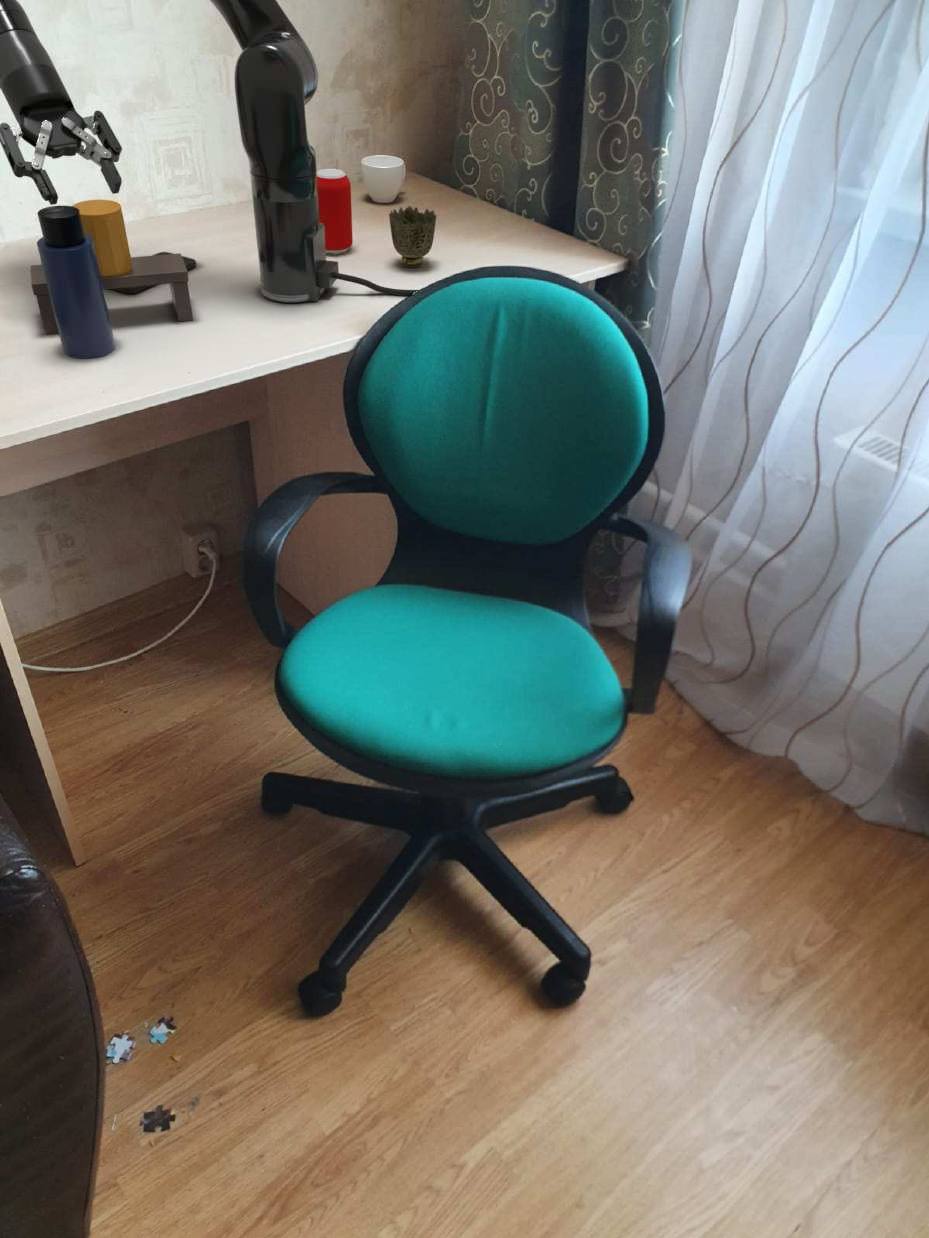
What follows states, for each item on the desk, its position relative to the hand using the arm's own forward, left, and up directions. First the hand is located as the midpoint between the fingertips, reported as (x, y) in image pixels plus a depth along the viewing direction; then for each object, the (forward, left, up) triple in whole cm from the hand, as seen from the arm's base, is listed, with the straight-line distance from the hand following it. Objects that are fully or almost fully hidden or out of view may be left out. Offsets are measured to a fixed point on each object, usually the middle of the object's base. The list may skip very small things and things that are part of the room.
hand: (86, 195), depth 125 cm
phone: (+1, -14, -16) cm, 21 cm away
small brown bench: (-2, +2, -16) cm, 16 cm away
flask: (-3, +12, -16) cm, 20 cm away
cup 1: (-25, -62, -16) cm, 69 cm away
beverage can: (-23, -33, -16) cm, 44 cm away
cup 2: (-37, -30, -16) cm, 51 cm away
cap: (-2, +2, -9) cm, 9 cm away
